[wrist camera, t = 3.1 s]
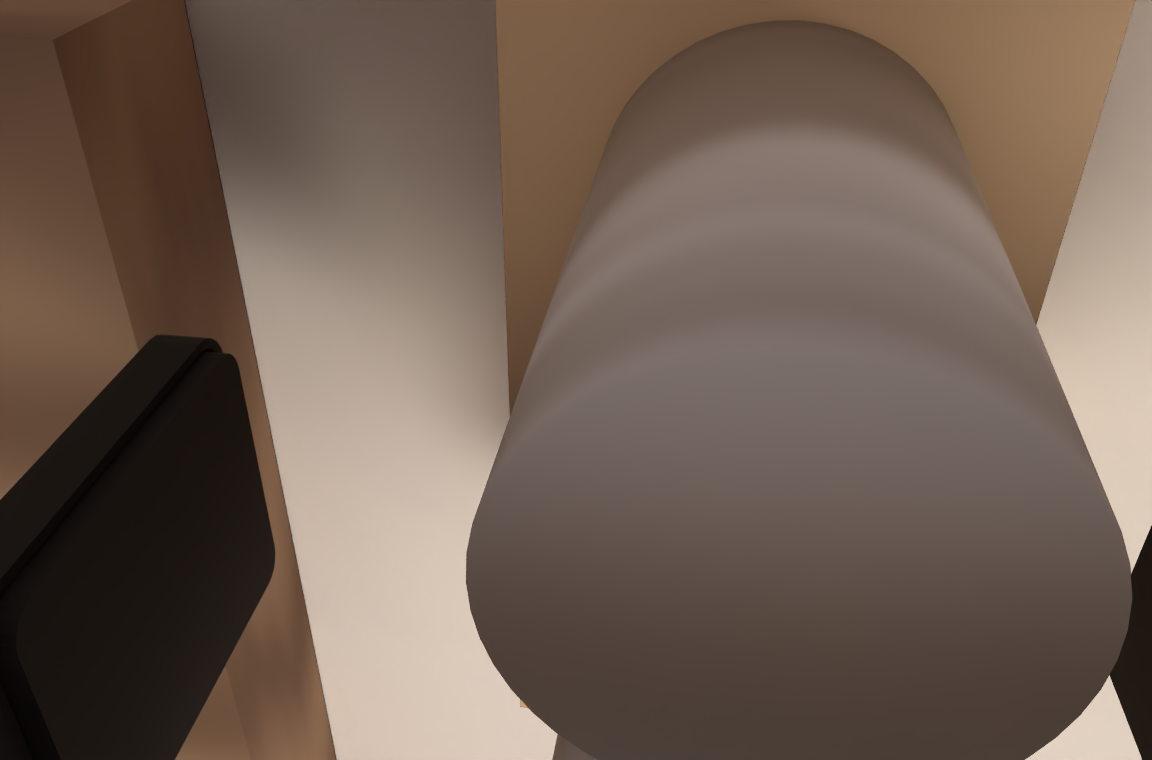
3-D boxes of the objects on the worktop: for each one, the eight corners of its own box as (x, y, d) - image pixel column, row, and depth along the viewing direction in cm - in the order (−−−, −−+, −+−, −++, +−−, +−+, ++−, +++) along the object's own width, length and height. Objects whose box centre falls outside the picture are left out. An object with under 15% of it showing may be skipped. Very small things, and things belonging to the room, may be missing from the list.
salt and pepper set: (585, -183, 12) (207, 98, 4) (1024, -171, 12) (1635, 186, 3) (577, 471, 18) (414, 1141, 10) (871, 502, 17) (964, 1244, 9)
